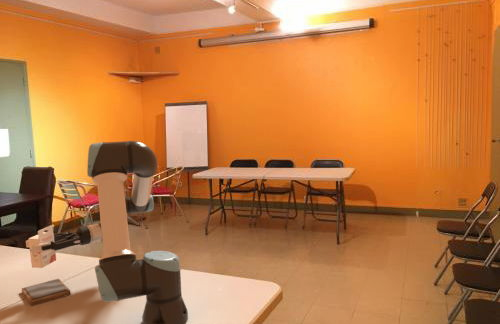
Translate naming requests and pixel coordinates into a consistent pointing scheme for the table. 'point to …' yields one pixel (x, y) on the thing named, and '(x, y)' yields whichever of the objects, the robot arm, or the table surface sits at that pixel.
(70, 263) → the table surface
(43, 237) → the ink cartridge box
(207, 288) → the table surface
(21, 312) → the table surface
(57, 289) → the walnut stand
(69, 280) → the table surface
